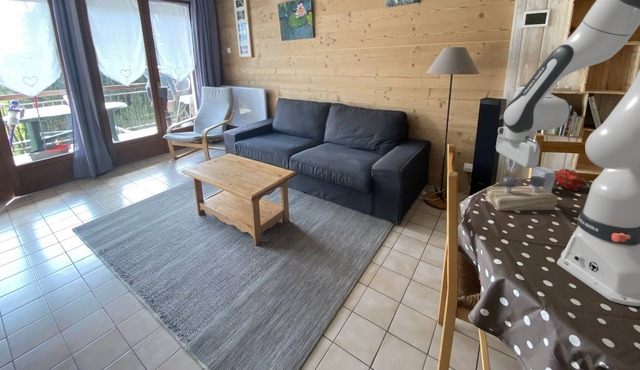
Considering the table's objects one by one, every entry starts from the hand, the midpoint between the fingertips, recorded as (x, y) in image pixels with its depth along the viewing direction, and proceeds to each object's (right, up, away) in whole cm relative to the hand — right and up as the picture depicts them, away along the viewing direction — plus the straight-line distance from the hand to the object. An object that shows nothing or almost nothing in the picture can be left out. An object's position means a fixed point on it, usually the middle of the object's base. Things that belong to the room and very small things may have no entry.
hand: (511, 171), depth 114 cm
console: (+5, -12, +5) cm, 14 cm away
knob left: (0, -9, +4) cm, 10 cm away
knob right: (+10, -9, +4) cm, 14 cm away
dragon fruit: (+33, -6, +17) cm, 38 cm away
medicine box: (+21, -7, +17) cm, 28 cm away
